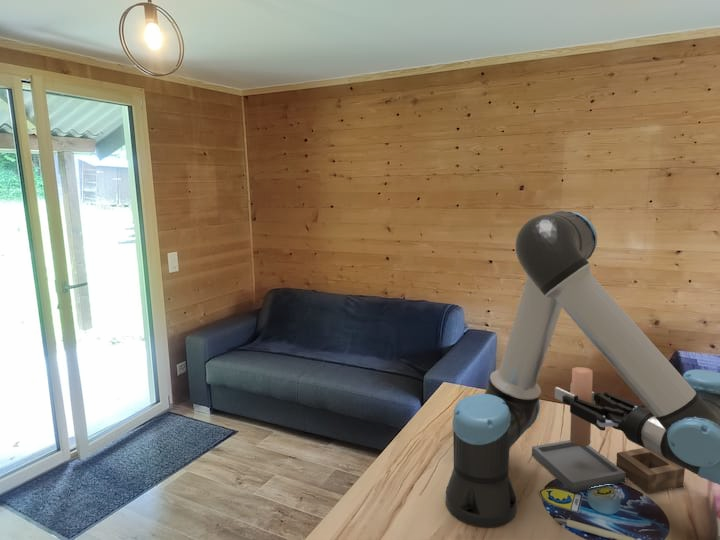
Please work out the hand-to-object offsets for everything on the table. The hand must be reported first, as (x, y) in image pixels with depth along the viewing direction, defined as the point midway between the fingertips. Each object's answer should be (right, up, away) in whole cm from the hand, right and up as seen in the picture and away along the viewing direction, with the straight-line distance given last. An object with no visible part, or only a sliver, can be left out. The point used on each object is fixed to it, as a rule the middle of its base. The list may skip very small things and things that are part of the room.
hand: (563, 390), depth 119 cm
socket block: (+17, -19, -6) cm, 26 cm away
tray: (+2, -19, -1) cm, 19 cm away
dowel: (+3, -11, -3) cm, 12 cm away
